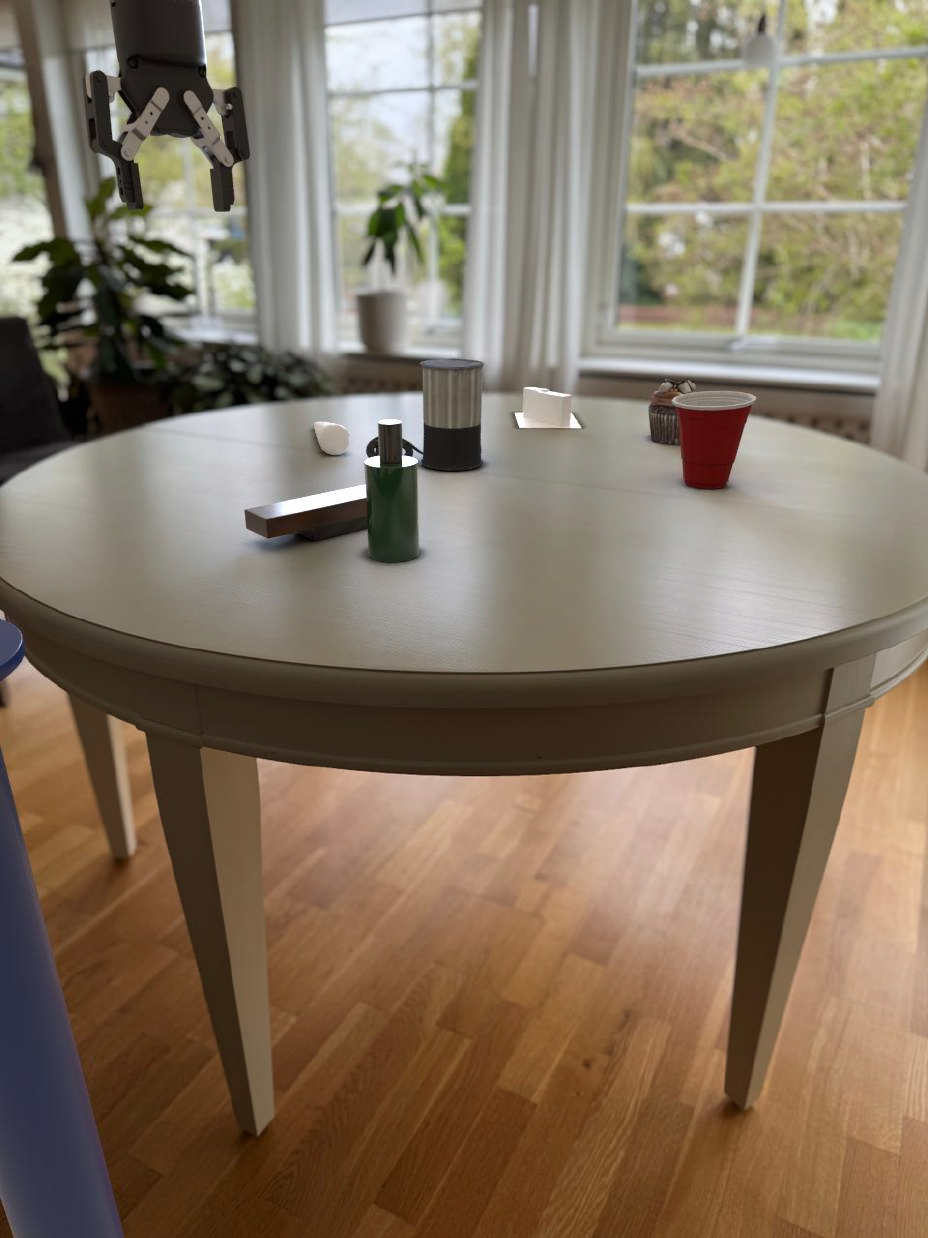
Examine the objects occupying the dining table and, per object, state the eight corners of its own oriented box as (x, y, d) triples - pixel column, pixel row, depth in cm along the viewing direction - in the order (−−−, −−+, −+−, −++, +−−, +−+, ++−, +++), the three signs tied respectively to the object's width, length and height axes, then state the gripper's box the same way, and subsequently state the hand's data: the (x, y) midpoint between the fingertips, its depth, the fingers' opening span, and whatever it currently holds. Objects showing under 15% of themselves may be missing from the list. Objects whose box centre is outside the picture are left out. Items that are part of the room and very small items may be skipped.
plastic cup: (651, 475, 122) (659, 390, 117) (720, 472, 124) (731, 387, 119) (684, 496, 112) (694, 403, 108) (759, 492, 115) (772, 400, 110)
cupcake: (648, 444, 141) (653, 382, 137) (643, 432, 150) (649, 374, 146) (707, 446, 140) (715, 383, 136) (699, 434, 149) (706, 375, 145)
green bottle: (388, 566, 88) (384, 429, 82) (358, 552, 92) (352, 421, 86) (429, 554, 91) (427, 422, 86) (398, 542, 95) (395, 414, 89)
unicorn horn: (336, 425, 154) (335, 398, 152) (351, 455, 133) (349, 424, 131) (310, 426, 153) (308, 399, 151) (320, 457, 132) (318, 426, 130)
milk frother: (495, 467, 127) (497, 363, 121) (400, 481, 119) (397, 371, 113) (446, 448, 138) (445, 353, 132) (357, 460, 130) (352, 359, 124)
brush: (269, 553, 91) (266, 519, 90) (247, 542, 95) (243, 509, 93) (402, 520, 102) (402, 489, 101) (379, 511, 105) (377, 481, 104)
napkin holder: (582, 428, 153) (584, 395, 151) (519, 428, 153) (520, 395, 151) (571, 412, 167) (573, 382, 165) (513, 412, 167) (514, 382, 165)
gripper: (212, 21, 80) (231, 213, 87) (54, -6, 71) (88, 209, 78) (251, 7, 75) (268, 211, 82) (86, -25, 66) (120, 207, 73)
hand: (180, 210), depth 80 cm, fingers open, 8 cm apart
